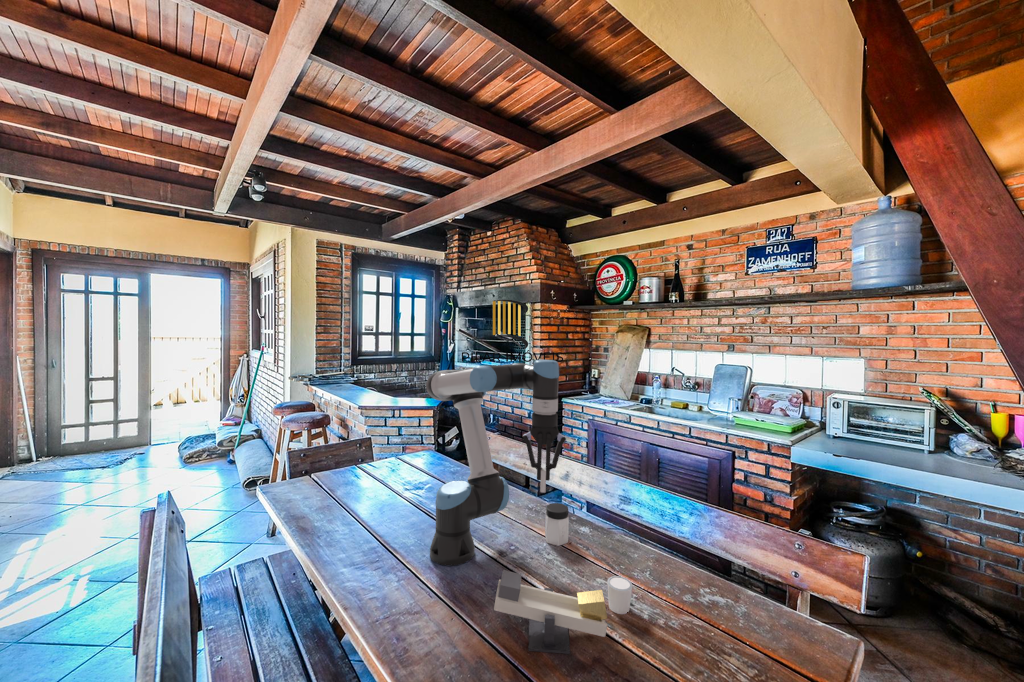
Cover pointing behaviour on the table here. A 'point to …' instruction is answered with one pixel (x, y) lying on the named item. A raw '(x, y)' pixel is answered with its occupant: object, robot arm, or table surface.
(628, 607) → the shot glass
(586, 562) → the table surface
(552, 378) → the robot arm
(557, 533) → the jar
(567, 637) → the stand
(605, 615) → the rider
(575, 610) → the beam
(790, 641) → the table surface
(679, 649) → the table surface
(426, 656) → the table surface
